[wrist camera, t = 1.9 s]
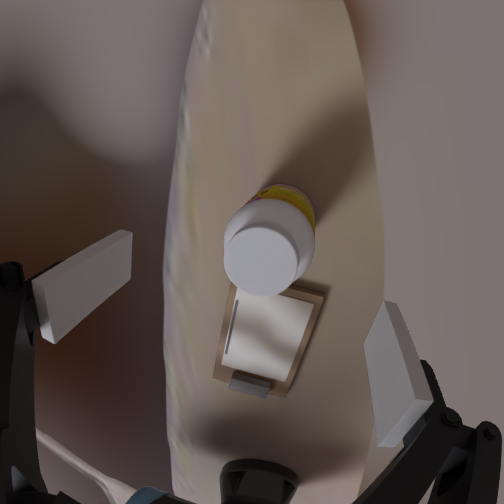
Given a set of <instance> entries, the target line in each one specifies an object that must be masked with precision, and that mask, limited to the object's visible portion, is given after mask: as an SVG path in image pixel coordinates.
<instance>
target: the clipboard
mask: <svg viewBox="0 0 504 504" xmlns="http://www.w3.org/2000/svg"><path fill="white" fill-rule="evenodd" d="M323 299H324V293H321V292H317V291H313V290H310V289H306V288H302V287H298V286H294V285H290V286H289V287H288V288H287V289H285V290H284V291H283V292H281V293H279V294H276V295H273V296H268V297H258V296H253V295H250V294H247V293H245V292H243V291H242V290H240V289H239V288H238V287H236V286H235V285H234V284H233V282H232V281H231V284H230V290H229V295H228V300H227V305H226V310H225V315H224V320H223V325H222V331H221V336H220V341H219V346H218V352H217V357H216V362H215V367H214V373H213V378H215V379H218V380H222V381H225V382H228V383H230V384H229V388H230V389H233V390H237V391H240V392H244V393H247V394H251V395H255V396H258V397H262V398H266V396H267V394H272V395H276V396H280V397H285V396H286V394H287V391H288V389H289V387H290V384H291V382H292V380H293V377H294V375H295V372H296V370H297V367H298V365H299V363H300V360H301V358H302V355H303V353H304V350H305V347H306V345H307V342H308V340H309V337H310V335H311V332H312V329H313V327H314V324H315V321H316V319H317V316H318V313H319V310H320V308H321V305H322V302H323Z"/></svg>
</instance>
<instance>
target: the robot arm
mask: <svg viewBox="0 0 504 504" xmlns="http://www.w3.org/2000/svg"><path fill="white" fill-rule="evenodd" d="M131 251H132V233H131V232H128V231H124V230H119V231H117V232H115V233H113V234H111V235H110V236H108V237H106V238H104V239H102V240H100V241H99V242H97V243H95V244H93V245H91V246H89V247H88V248H86V249H84V250H82V251H81V252H79V253H77V254H75V255H74V256H72V257H70V258H69V259H67V260H63V261H59V262H56V263H55V264H53V265H51V266H50V267H49V268H46V269H44V270H43V271H41V272H40V273H38V274H36V275H34V276H33V277H31V278H30V279H28V280H26V281H25V279H24V272H23V266H22V264H21V263H19V262H14V261H10V262H5V263H2V264H0V504H81V503H79V502H77V501H76V500H74V499H72V498H71V497H69V496H68V495H66V494H64V493H63V492H61V491H60V492H59V493H58V495H53V494H50V493H48V491H47V488H46V485H45V483H44V480H43V478H42V475H41V473H40V467H39V459H38V451H37V441H36V429H35V410H34V364H35V363H34V362H35V346H36V334H35V330H36V329H37V328H38V327H39V326H40V328H41V332H42V337H43V338H45V339H47V340H48V341H50V342H52V343H53V344H56V343H57V342H58V341H59V340H60V339H61V338H62V337H63V336H64V335H65V334H67V333H68V332H69V331H70V330H71V329H72V328H73V327H75V326H76V325H77V324H78V323H79V322H80V321H81V320H82V319H84V318H85V317H86V316H87V315H88V314H89V313H91V312H92V311H93V310H94V309H95V308H96V307H97V306H99V305H100V304H101V303H102V302H103V301H104V300H106V299H107V298H108V297H109V296H110V295H112V294H113V293H114V292H115V291H116V290H118V289H119V288H120V287H121V286H122V285H124V284H125V283H126V282H127V281H128V280H130V279H131ZM363 346H364V351H365V357H366V363H367V369H368V376H369V382H370V389H371V396H372V404H373V412H374V420H375V429H376V438H377V446H378V447H392V448H395V447H396V446H397V445H398V443H399V442H400V441H401V440H402V439H403V443H404V448H403V449H402V450H401V451H400V452H399V453H398V454H397V455H396V456H395V457H394V458H393V459H392V460H391V461H390V462H391V463H390V464H389V465H388V466H387V467H386V468H385V470H384V471H383V472H382V473H381V474H380V475H379V476H378V477H377V478H376V480H375V481H374V482H373V483H372V484H371V485H370V486H369V487H368V488H367V489H366V490H365V491H364V492H363V493H362V494H361V495H360V496H359V497H358V498H357V499H356V500H355V501H354V502H353V503H352V504H418V503H419V502H420V500H421V499H422V497H423V496H424V494H425V493H426V491H427V490H428V488H429V486H430V485H431V483H432V482H433V480H434V479H435V477H436V479H435V482H434V485H433V488H432V491H431V495H430V498H429V501H428V503H427V504H496V503H497V496H498V489H499V480H500V468H501V452H502V436H501V432H500V430H499V429H498V427H497V426H496V425H495V424H493V423H491V422H488V421H484V422H481V423H480V424H479V425H478V426H477V428H476V429H474V428H471V427H468V426H465V425H463V423H462V419H461V417H460V416H459V414H458V413H457V412H456V411H454V410H453V409H451V408H449V407H446V404H445V401H444V399H443V396H442V393H441V391H440V387H439V386H438V382H437V379H435V374H434V372H433V369H432V368H431V366H430V365H429V364H428V363H427V362H426V360H420V359H419V357H418V354H417V352H416V349H415V347H414V344H413V341H412V339H411V336H410V334H409V331H408V329H407V326H406V324H405V322H404V319H403V317H402V315H401V312H400V310H399V307H398V305H397V304H396V303H392V302H388V301H384V300H383V303H382V305H381V307H380V309H379V312H378V314H377V316H376V318H375V321H374V323H373V325H372V327H371V329H370V331H369V333H368V335H367V337H366V340H365V342H364V344H363ZM297 484H298V478H297V476H296V475H295V473H293V472H292V471H291V470H289V469H287V468H285V467H283V466H280V465H277V464H274V463H270V462H265V461H258V460H238V461H233V462H230V463H228V464H226V465H225V466H224V467H223V468H222V471H221V474H220V491H221V504H289V503H290V501H291V499H292V498H293V496H294V494H295V492H296V490H297ZM126 504H196V503H193V502H190V501H187V500H184V499H182V498H179V497H177V496H174V495H172V494H170V493H169V492H164V491H160V490H158V489H155V488H153V487H148V486H147V487H142V488H140V489H139V490H137V491H136V492H135V493H134V494H133V495H132V496H131V497H130V499H129V500H128V501H127V502H126Z"/></svg>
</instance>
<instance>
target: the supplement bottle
mask: <svg viewBox="0 0 504 504" xmlns="http://www.w3.org/2000/svg"><path fill="white" fill-rule="evenodd" d="M314 248H315V215H314V210H313V206H312V204H311V202H310V200H309V199H308V198H307V196H306V195H305V194H304V193H303V192H301V191H300V190H298V189H297V188H295V187H292V186H289V185H284V184H277V185H271V186H268V187H266V188H264V189H262V190H261V191H259V192H258V193H257V194H256V195H255V196H254V197H253V198H251V199H250V200H249V201H248V202H247V203H246V204H245V205H244V206H243V207H242V208H241V209H239V210H238V211H237V212H236V213H235V214H234V216H233V217H232V218H231V220H230V221H229V223H228V226H227V228H226V231H225V236H224V249H225V253H224V266H225V270H226V273H227V275H228V277H229V278H230V280H231V281H232V282H233V284H234V285H235V286H236V287H238V288H239V289H240V290H242V291H243V292H245V293H247V294H250V295H253V296H258V297H268V296H273V295H276V294H279V293H281V292H283V291H284V290H285V289H287V288H288V287H289V286H290V285H291V283H292V282H294V281H295V280H297V279H298V278H299V277H301V276H302V275H303V274H304V272H305V271H306V270H307V268H308V267H309V265H310V263H311V261H312V258H313V255H314Z"/></svg>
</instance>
